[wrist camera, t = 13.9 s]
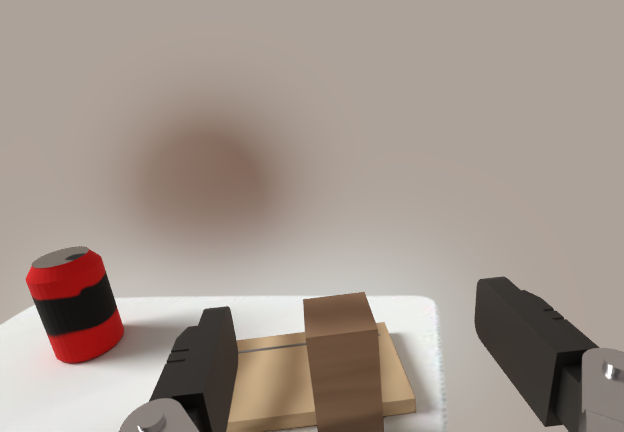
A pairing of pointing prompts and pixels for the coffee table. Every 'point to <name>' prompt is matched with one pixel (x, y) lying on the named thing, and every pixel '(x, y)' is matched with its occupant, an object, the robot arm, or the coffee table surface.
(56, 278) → the soda can
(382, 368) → the board
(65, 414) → the coffee table surface
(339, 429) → the block
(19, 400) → the coffee table surface
